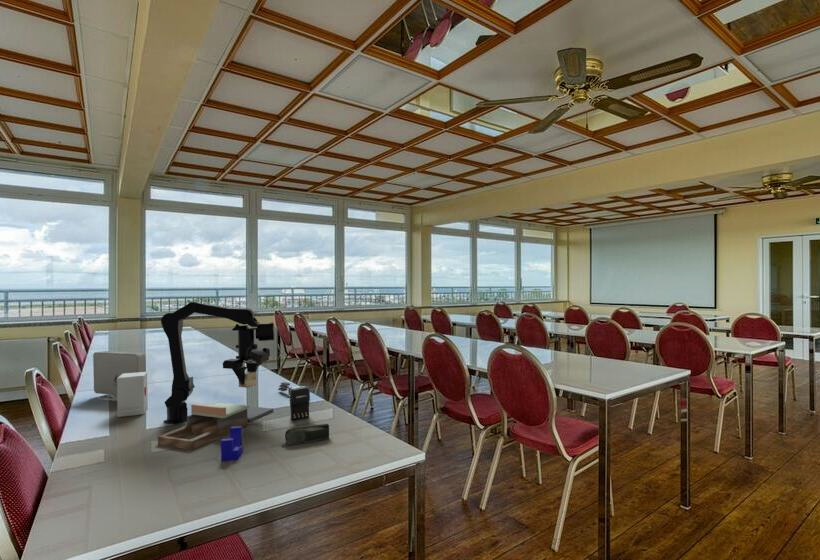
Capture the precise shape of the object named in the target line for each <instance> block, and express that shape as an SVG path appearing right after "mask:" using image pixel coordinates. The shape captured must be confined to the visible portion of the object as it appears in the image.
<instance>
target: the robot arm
mask: <svg viewBox="0 0 820 560" xmlns="http://www.w3.org/2000/svg"><path fill="white" fill-rule="evenodd" d="M193 314H201V315H206V316H211V317H212V316H213V317H218V318H225V319H227V320H230V321H233V322H235V323H236V325H234V327H233V328H232V329H231V330H232V332H234V331H237V338H238V339H237V343H238V344H236V345H235V348H236V349H237V350H238V351H237V353H238V355H236V356H235V358H230V359H226V360H224V361H223V362H222V369H226V370H227V369H230V370H232V371H233V373H234V374H235V376H236V377H237V379H238V382H239V381H240V383H241V385H244V382H245V372H246V371H251V372H256V373H257V370H258V368H259V366H261V365H263V363H264V362H265V363H266V362H267V361H269V360H270V358H269V357H270V356H271V349H270V348H269V347H264V348H258V344H257V343H255V339H256V340H258V341H259V342H267V341H268V342H270V341H272V342H273V341H275V338H276V337H275V335H276V333H275V324H274V322H266V323H260V321H259V320H257V318H256V317H255V312H254V311H253V310H252V309H251V308H249V307H233V308H232V307H226V306H225V307H224V306H219V305H213V304H210V303H209V304H208V303H203V302H198V301H196V300H195V301H190V302H188V303H187V304H186V305H183V306H182V307H181V308H178V309H177V310H175V311H172V312H171V311H169V312H168V313H165V314H164V315H162V317H161V318H160V323H161V327H162V329H163V331H164V334H165V335H166V337H167V342H168V347H169V354H170V355H169V356H170V360H171V361H170V362H171V367H172V375H173V378H172V384H171V395H170V396H169V397H168V398H166V400H165V401H164V405H165V407H166V419H165V420H163V423H166V424H175V425H177V424H180V423H183V422H187V416H189V415H188V405H187V404H188V403H187V402H186V401H187V400H188V398H189V397H190V396H191V395H192V393H193V391H194V389H195V384H194V376H190V377H189V375H188V373H187V367H186V366H187V365H186V360H185V353H184V344H183V339H182V334H183V327H184V320H186V319H187V318H189V317H190V316H191V315H193ZM240 324H241V325H240ZM249 326H250V327H249Z"/></svg>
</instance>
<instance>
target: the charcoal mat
mask: <svg viewBox="0 0 820 560" xmlns="http://www.w3.org/2000/svg"><path fill="white" fill-rule="evenodd" d="M248 406H249V408H248V409H247V422H248V421H249V422H253V421H256V420H257V419H259V418H261V416H262V417H263V415H264V416H266V415H268V414H270V413H269V412H271V411H273V412H274V408H271V407H262V406H261V407H259V406H254V405H253V406H251V405H248ZM267 413H268V414H267ZM271 413H272V412H271ZM265 414H266V415H265Z"/></svg>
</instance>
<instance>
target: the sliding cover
mask: <svg viewBox="0 0 820 560" xmlns="http://www.w3.org/2000/svg"><path fill="white" fill-rule="evenodd" d="M249 406H250V405H245V404H244V405H243V404H235V403H227V402H216V403H213V404H210V405H208V404H200V403H199V404H198V403H192V404H191V405H190V407H191V411H190V412H191V414H190V415H192V414H193V415H201V416H209V417H217V418H226V417H228V416H231V415H233V414H236V413H238V412H241V411H243V410H246V409H248V408H249Z"/></svg>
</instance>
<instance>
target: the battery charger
mask: <svg viewBox="0 0 820 560" xmlns="http://www.w3.org/2000/svg"><path fill="white" fill-rule="evenodd" d="M310 391H311V390H310V388H308V387H307V386H295V387H292V389H291V390H290V397H289V409H290V410H289V411H290V412H289V413H290V417H289V419H290V420H292V421H298V420H299V419H300V420H305V419H308V418H310V402H311V394H310V393H311V392H310Z"/></svg>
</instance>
